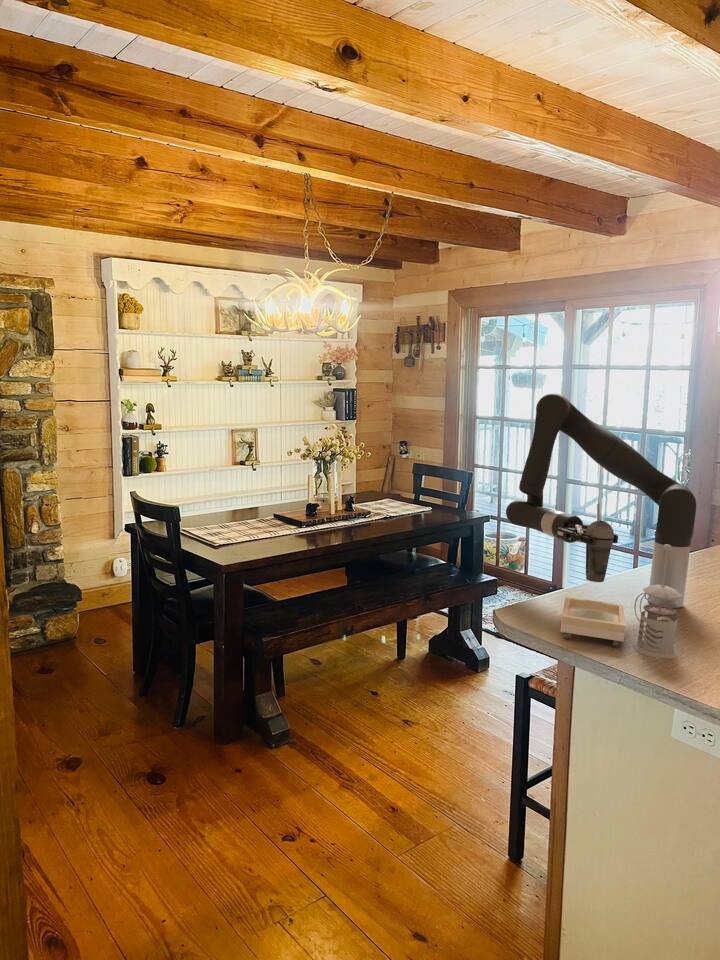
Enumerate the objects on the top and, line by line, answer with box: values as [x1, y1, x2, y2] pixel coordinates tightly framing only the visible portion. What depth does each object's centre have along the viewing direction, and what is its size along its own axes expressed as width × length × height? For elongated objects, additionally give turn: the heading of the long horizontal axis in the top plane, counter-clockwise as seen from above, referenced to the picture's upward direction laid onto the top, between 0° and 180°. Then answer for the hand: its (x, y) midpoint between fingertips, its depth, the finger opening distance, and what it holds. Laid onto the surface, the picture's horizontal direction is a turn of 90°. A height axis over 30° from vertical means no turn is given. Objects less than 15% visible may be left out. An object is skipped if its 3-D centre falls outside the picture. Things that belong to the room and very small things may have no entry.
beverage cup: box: [585, 503, 615, 583], centre depth 182 cm, size 7×7×20 cm
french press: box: [632, 544, 682, 659], centre depth 162 cm, size 10×12×25 cm
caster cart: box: [559, 596, 626, 648], centre depth 171 cm, size 16×14×6 cm
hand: (605, 540), depth 180 cm, fingers closed on beverage cup, 7 cm apart
